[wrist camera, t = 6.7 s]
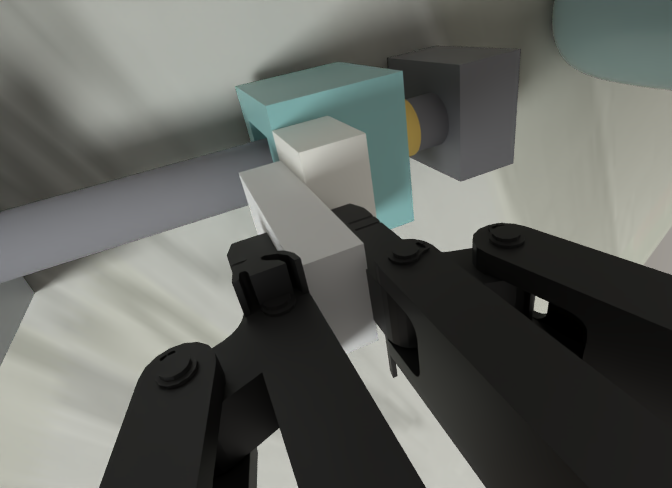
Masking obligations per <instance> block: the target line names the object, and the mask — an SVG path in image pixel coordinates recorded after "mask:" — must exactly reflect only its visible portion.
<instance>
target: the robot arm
mask: <svg viewBox="0 0 672 488" xmlns="http://www.w3.org/2000/svg"><path fill="white" fill-rule="evenodd" d="M239 176H240V179H241V182H242V185H243V189H244V192H245V195H246V198H247V202H248V205H249V208H250V211H251V214H252V218H253V221H254V224H255V227H256V231H257V234H258V235H257V236H254V237H251V238H248V239H245V240H242V241H239V242H236V243H233V244H232V245H231V247H230V249H229V252H228V254H227V257H228V260H229V263H230V266H231V270H232V273H233V275H232V284H233V287H234V289H235V292H236V295H237V297H238V300H239V303H240V305H241V308H242V310H243V313H244V315H243V319H242V321H241V323H240V325H239V326H238V328H237V329H236V330H235V331H234V332H233V333H232V334H231V335H230V336H229V337H228V338H226V339H225V340H224V341H223V342H221V343H219V344H218V345H216V346H215V347H213V348H211V347H210V346H209V345H206V344H203V343H199V342H193V343H184V344H181V345H178V346H175V347H172V348H170V349H168V350H167V351H165V352H163V353H162V354H160V355H159V356H157V357H156V358H155V359H154V360H153V361H152V362H151V363H150V364H149V365H148V366H146V367H145V369H144V371H143V372H142V374H141V376H140V378H139V379H138V382H137V384H136V387H135V390H134V393H133V395H132V398H131V401H130V404H129V407H128V409H127V412H126V415H125V418H124V420H123V423H122V426H121V429H120V431H119V434H118V437H117V440H116V443H115V445H114V448H113V451H112V454H111V456H110V459H109V462H108V465H107V467H106V470H105V473H104V476H103V478H102V481H101V484H100V487H99V488H257V459H258V451H257V446H258V445H260V444H261V443H262V442H263V441H264V440H266V439H267V438H268V437H269V436H270V435H271V434H273V433H274V432H275V431H276V430H277V429H278V428H280V430H281V434H282V437H283V440H284V443H285V446H286V450H287V453H288V456H289V459H290V462H291V466H292V469H293V472H294V475H295V478H296V482H297V485H298V488H426V487H425V485H424V484H423V482H422V480H421V479H420V477H419V475H418V474H417V472H416V470H415V468H414V467H413V465H412V463H411V462H410V460H409V458H408V457H407V455H406V453H405V452H404V450H403V448H402V447H401V445H400V443H399V442H398V440H397V438H396V437H395V435H394V433H393V432H392V430H391V428H390V427H389V425H388V423H387V422H386V420H385V418H384V416H383V415H382V413H381V411H380V410H379V408H378V406H377V405H376V403H375V401H374V400H373V398H372V396H371V395H370V393H369V391H368V390H367V388H366V386H365V385H364V383H363V381H362V380H361V378H360V376H359V375H358V373H357V371H356V370H355V368H354V366H353V364H352V363H351V361H350V359H349V358H348V356H347V353H350V352H352V351H354V350H357V349H359V348H361V347H364V346H366V345H368V344H371V343H373V342H375V341H378V333H377V327H376V323H377V325H378V326H379V327H380V329H381V330H382V331H383V333H384V334H385V337H386V344H387V351H388V358H389V365H390V371H391V374H392V376H393V378H394V377H396V376H397V369H396V364H397V365H398V367H399V368H400V369H401V371H402V372H403V374H404V375H405V376H406V378H407V379H408V381H409V382H410V383H411V385H412V386H413V387H414V389H415V390H416V392H417V393H418V394H419V396H420V397H421V398H422V400H423V401H424V403H425V404H426V405H427V407H428V408H429V410H430V411H431V412H432V414H433V415H434V416H435V418H436V419H437V421H438V422H439V423H440V425H441V426H442V427H443V429H444V430H445V432H446V433H447V434H448V436H449V437H450V439H451V440H452V441H453V443H454V444H455V445H456V447H457V448H458V450H459V451H460V452H461V454H462V455H463V457H464V458H465V459H466V461H467V462H468V463H469V465H470V466H471V468H472V469H473V470H474V472H475V473H476V474H477V476H478V477H479V479H480V480H481V481H482V483H483V484H484V486H485V487H486V488H672V275H670V274H667V273H664V272H661V271H658V270H655V269H652V268H649V267H646V266H643V265H640V264H637V263H634V262H631V261H628V260H625V259H622V258H619V257H616V256H613V255H610V254H607V253H604V252H601V251H598V250H595V249H592V248H589V247H586V246H583V245H580V244H577V243H574V242H571V241H568V240H565V239H562V238H559V237H556V236H553V235H550V234H547V233H544V232H541V231H538V230H535V229H532V228H529V227H526V226H521V225H517V224H508V223H496V224H492V225H488V226H485V227H483V228H480V229H479V230H478V231H477V232H476V233H475V234H474V235H473V248H469V249H463V250H457V251H450V252H441V251H439V250H438V249H437V248H436V247H434V246H433V245H431V244H429V243H427V242H425V241H422V240H416V239H401V238H400V237H399V236H397V235H396V234H395V233H394V232H393V231H391V230H390V229H389V228H388V227H387V226H385V225H384V224H383V223H382V222H381V223H380V221H379V220H378V219H377V218H376V217H375V216H374V217H373V215H372V214H371V213H370V212H369V211H367V210H366V209H365V208H364V207H360V206H357V205H354V204H350V203H349V204H346V205H343V206H340V207H337V208H334V209H331V210H330V209H329V208H328V207H327V206H326V205H325V204H324V203H323V202H322V201H321V200H320V199H319V198H318V197H317V196H316V195H315V194H314V193H313V192H312V191H311V190H310V189H309V188H308V187H307V186H306V185H305V184H304V183H303V182H302V181H301V180H300V179H299V178H298V177H297V176H296V175H295V174H294V173H293V172H292V171H291V170H290V169H289V168H288V167H287V166H286V165H285V164H284V163H283V162H282V161H278V162H274V163H271V164H267V165H264V166H260V167H257V168H253V169H250V170H246V171H243V172H240V173H239ZM535 296H537V297H539V298H542V299H544V300H546V301H548V302H549V304H548V311H547V314H541V313H538V312H536V311H534V301H535Z"/></svg>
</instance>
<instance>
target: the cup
mask: <svg viewBox="0 0 672 488" xmlns="http://www.w3.org/2000/svg"><path fill="white" fill-rule="evenodd" d="M552 31H553V36H554V41H555V44H556V46H557V49H558V51H559V53H560V55H561V56H562V57H563V59H564V60H565V61H566V62H567V63H568V64H569V65H570V66H572V67H573V68H574V69H576V70H578V71H579V72H581V73H583V74H586V75H588V76H591V77H595V78H598V79H602V80H606V81H611V82H616V83H621V84H627V85H633V86H639V87H646V88H654V89H662V90H671V91H672V0H554V5H553V10H552Z"/></svg>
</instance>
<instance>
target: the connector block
mask: <svg viewBox="0 0 672 488" xmlns="http://www.w3.org/2000/svg"><path fill="white" fill-rule="evenodd" d="M520 53H521V49H510V48H482V47H454V46H434V47H430V48H426V49H422V50H418V51H414V52H409V53H405V54H401V55H397V56H393V57H389V58H387V60H388V69H393V70H400V71H403V82H404V96H405V99H409V98H413V97H416V96H420V95H424V94H427V93H434V94H436V95H437V96H438V97H439V98H440V99H441V100H442V102H443V103H444V105H445V108H446V110H447V114H448V119H449V131H448V135H447V138H446V140H445V141H444V142H443V143H442V144H440V145H437V146H434V147H431V148H428V149H425V150H421V151H418V152H417V153H416V154H415V155H413V156H410V158H412V159H414V160H417V161H419V162H421V163H423V164H425V165H427V166H429V167H431V168H433V169H435V170H437V171H440V172H442V173H444V174H446V175H448V176H450V177H452V178H454V179H456V180H458V181H460V182H461V181H464V180H467V179H469V178H472V177H475V176H478V175H481V174H484V173H487V172H490V171H493V170H495V169H498V168H501V167H504V166H507V165H510V164H513V159H514V144H515V129H516V114H517V98H518V83H519V68H520Z"/></svg>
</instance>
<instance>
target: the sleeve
mask: <svg viewBox="0 0 672 488" xmlns="http://www.w3.org/2000/svg"><path fill="white" fill-rule="evenodd" d="M235 88H236V91H237V95H238V98H239V102H240V105H241V109H242V112H243V116H244V120H245V123H246V127H247V130H248V134H249V137H250V141H251V142H253V141H257V140H261V139H264V138H267V140H268V144H269V148H270V152H271V155H272V159H273V163H274V162H278V161H282V162H283V163H284V164H285V165H286V166H287V167H288V168H289V169H290V170H291V171H292V172H293V173H294V174H295V175H296V176H297V177H298V178H299V179H300V180H301V181H302V182H303V183H304V184H305V185H306V186H307V187H308V188H309V189H310V190H311V191H312V192H313V193H314V194H315V195H316V196H317V197H318V198H319V199H320V200H321V201H322V202H323V203H324V204H325V205H326V206H327V207H328V208H329V209H330V210H331V209H334V208H337V207H340V206H343V205H346V204H349V203H350V204H354V205H357V206H360V207H364V208H365V209H366V210H367V211H369V212H370V213H371V214H372V215H373V217H374V216H375V217H376V218H377V219H378V220H379V221H380V223H381V222H382V223H383V224H384V225H385V226H387V227H388V228H389V229H392V228H395V227H398V226H401V225H404V224H406V223H409V222H412V221H414V214H413V201H412V188H411V175H410V162H409V148H408V135H407V122H406V109H405V96H404V82H403V71H400V70H393V69H386V68H379V67H372V66H365V65H358V64H351V63H344V62H335V63H331V64H326V65H322V66H318V67H314V68H310V69H305V70H301V71H297V72H293V73H289V74H285V75H280V76H276V77H272V78H268V79H264V80H259V81H255V82H251V83H247V84H243V85H239V86H235Z"/></svg>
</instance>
